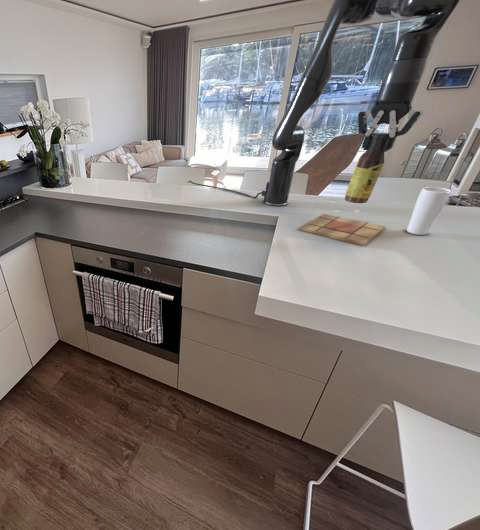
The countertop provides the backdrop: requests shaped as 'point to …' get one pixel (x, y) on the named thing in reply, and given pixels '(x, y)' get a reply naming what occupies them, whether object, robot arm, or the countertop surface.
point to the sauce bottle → (367, 170)
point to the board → (343, 229)
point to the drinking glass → (427, 209)
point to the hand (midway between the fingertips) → (375, 150)
